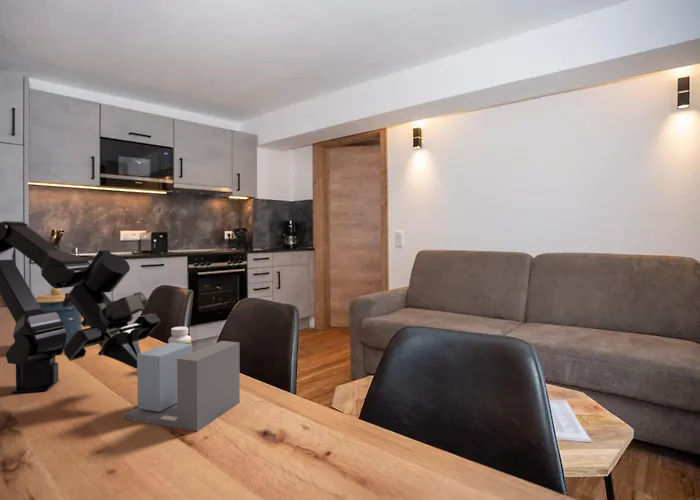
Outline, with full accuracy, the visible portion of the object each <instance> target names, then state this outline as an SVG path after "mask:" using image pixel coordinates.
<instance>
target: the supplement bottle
mask: <svg viewBox="0 0 700 500" xmlns="http://www.w3.org/2000/svg"><path fill="white" fill-rule="evenodd" d="M170 334H171V336H170V337H169V338H168V340H167V344H169V343H171V342H173V343H183V344H192V337H191V336H190V335H188V334H189V327H188V326H176V327H175V326H174V327H172V328H171V329H170Z"/></svg>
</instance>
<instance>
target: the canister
mask: <svg viewBox="0 0 700 500" xmlns="http://www.w3.org/2000/svg"><path fill="white" fill-rule="evenodd" d="M66 293H67V292H62V288H58V289H57V288H54V287H51V289H50V293H43V294H39V295H37V297H35V299H36V301H37V302H38V304H39V306H40V308H41V309H42V311H44V312H46V313H50V312H56V313H57V314H58V315H59V318H60V320H61V322H62V323H63V324H64V325H65V327H64V329H65V331H66V334H67V339H66V342H65V345H66V344H67V343H68V342H69V340H70V339H71V338H72V337H73V335H74V334H75V333H76V332H77V331H78V330H82V329H83V325H82V324H81V322H82V321H83V319H82V318H83V317H82V316H81V314H80V313H79V311H78V310H77V309H76V307H75V306H74V305H73V306H67V307H64V306H63V301H64V299H65V294H66ZM64 347H65V346H64Z"/></svg>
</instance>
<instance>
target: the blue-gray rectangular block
mask: <svg viewBox="0 0 700 500" xmlns="http://www.w3.org/2000/svg"><path fill="white" fill-rule="evenodd" d="M193 350H194V349H193V343H191V344H183V343H173V342H171V343H169V344H168V343H166V344H163V345H159V346H157V347H154V348H152V349H148V350H145V351H143V352H141V353H139V354H137V369H136V371H137V377H136V378H137V380H136V381H137V385H136V386H137V387H136V388H137V407H138V408H139V409H145V410H151V411H158V412H161V411H163V410H165V409H166V408H168V407H170V406H172V405H174V404H176V403H177V359H178V358H180V357H183V356H185V355H188V354H190V353H193V352H194V351H193Z"/></svg>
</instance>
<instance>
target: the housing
mask: <svg viewBox="0 0 700 500" xmlns="http://www.w3.org/2000/svg"><path fill="white" fill-rule="evenodd" d="M240 350H241V349H240V342H239V341H228V340H220V341H218V342H215V343H213V344H210V345H208V346H206V347H203V348H200V349H198V350H195V351H193V353H190V354H188V355H185V356H183V357H180V358H178V359H177V403H176V404H174V405H172V406H170V407H168V408H166V409H165V410H163V411H161V412H158V411H151V410H145V409H139V408H138V406H137V407H135V408H133V409H131V410H128V411H127V412H124V420H127V419H128V421H133V420H136V421H135V422H139V421H141V422H140V423H145V422H148V423H147V424H150V423H152V425H157V426H161V427H169V428H175V429H180V430H186V431H193V432H199V431H200V430H202V429H203V428H205V427H206V426H207V425H209V424H210V423H212V422H214V421H215V420H216V419H218V418H219V417H221V416H222V415H224V414H225V413H227V412H229V410H231V409H233V408H234V407H235V406H237V405H238V404H240V402H241V401H240V400H241V399H240V396H241V395H240V393H241V391H240V388H241V387H240V386H241V384H240V383H241V381H240V367H241V365H240Z"/></svg>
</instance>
